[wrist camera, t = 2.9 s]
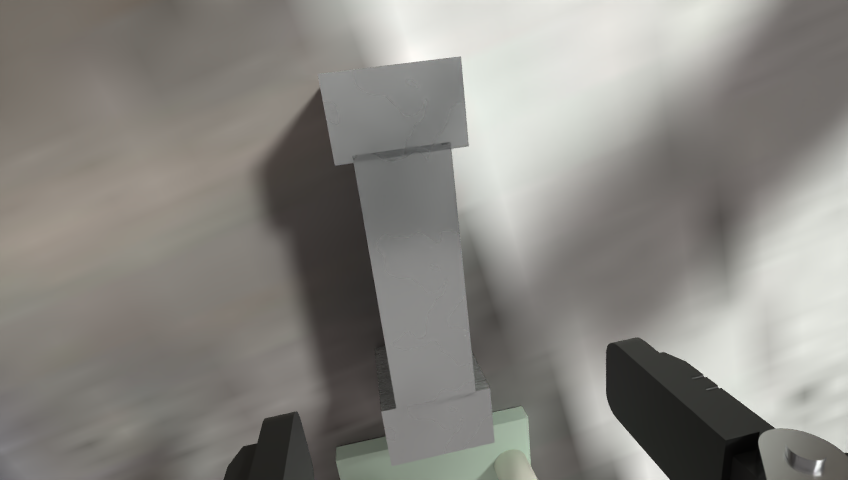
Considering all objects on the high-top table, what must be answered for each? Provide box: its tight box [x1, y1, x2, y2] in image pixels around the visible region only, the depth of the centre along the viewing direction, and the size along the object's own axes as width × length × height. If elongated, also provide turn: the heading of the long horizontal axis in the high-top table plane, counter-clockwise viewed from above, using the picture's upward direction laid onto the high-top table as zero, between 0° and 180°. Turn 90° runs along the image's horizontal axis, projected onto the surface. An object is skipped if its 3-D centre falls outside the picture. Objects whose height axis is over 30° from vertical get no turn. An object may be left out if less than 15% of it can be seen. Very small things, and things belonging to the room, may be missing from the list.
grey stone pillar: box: [318, 57, 495, 466], centre depth 19 cm, size 16×5×5 cm, turn 7°
